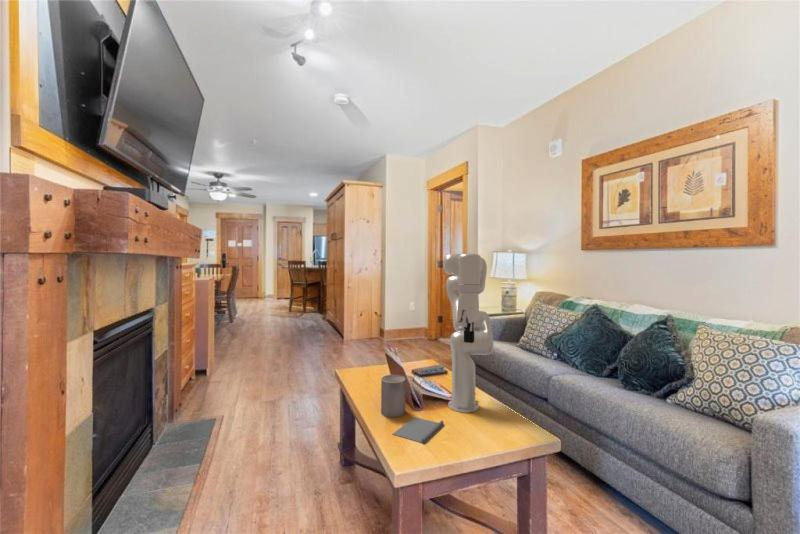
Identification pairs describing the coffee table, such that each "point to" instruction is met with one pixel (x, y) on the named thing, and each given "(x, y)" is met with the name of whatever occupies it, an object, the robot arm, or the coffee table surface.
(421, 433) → the slate mat
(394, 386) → the pillar candle
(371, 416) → the coffee table surface
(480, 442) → the coffee table surface
